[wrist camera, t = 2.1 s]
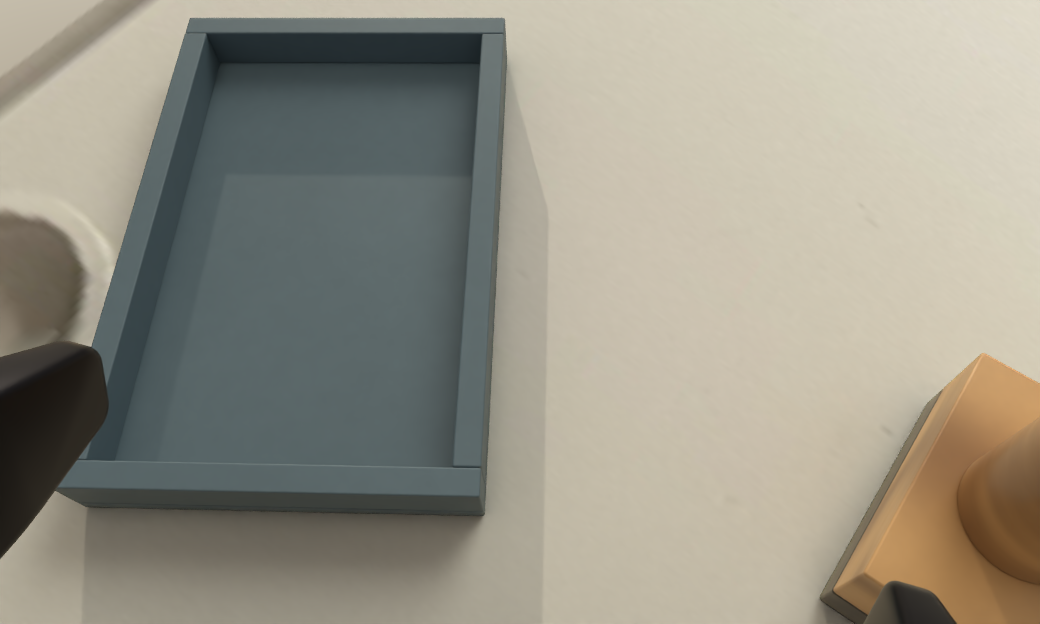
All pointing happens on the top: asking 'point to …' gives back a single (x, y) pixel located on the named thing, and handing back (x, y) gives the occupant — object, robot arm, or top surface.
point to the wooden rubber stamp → (957, 506)
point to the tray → (309, 274)
